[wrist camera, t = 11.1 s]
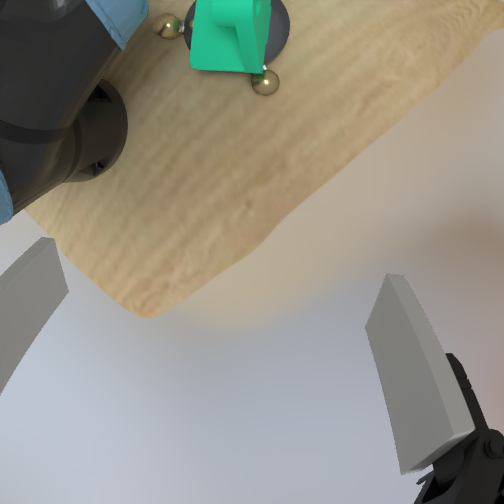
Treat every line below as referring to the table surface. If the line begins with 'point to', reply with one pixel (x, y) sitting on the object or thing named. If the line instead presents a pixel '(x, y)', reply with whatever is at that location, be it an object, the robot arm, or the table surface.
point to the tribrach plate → (277, 34)
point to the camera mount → (230, 35)
